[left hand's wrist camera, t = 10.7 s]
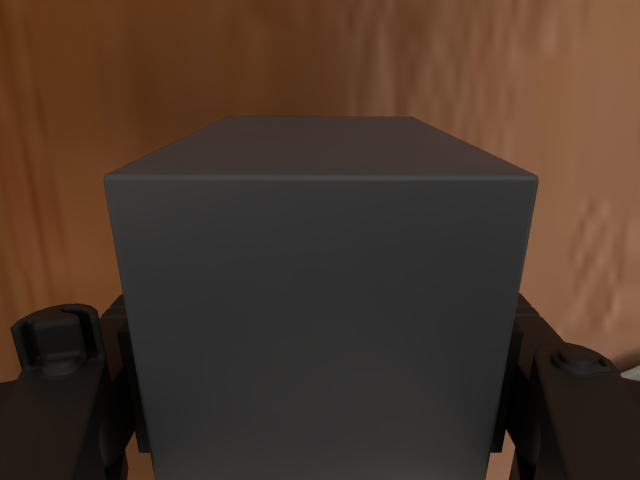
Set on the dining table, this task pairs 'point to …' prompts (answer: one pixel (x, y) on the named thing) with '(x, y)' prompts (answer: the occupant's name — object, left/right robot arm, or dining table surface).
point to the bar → (320, 297)
